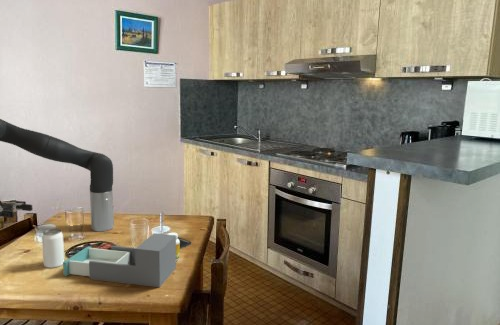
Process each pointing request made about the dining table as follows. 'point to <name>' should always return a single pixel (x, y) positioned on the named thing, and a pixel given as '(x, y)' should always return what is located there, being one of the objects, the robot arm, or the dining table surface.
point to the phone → (183, 243)
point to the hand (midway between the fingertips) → (23, 211)
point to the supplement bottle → (176, 245)
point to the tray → (81, 260)
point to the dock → (140, 263)
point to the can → (53, 248)
